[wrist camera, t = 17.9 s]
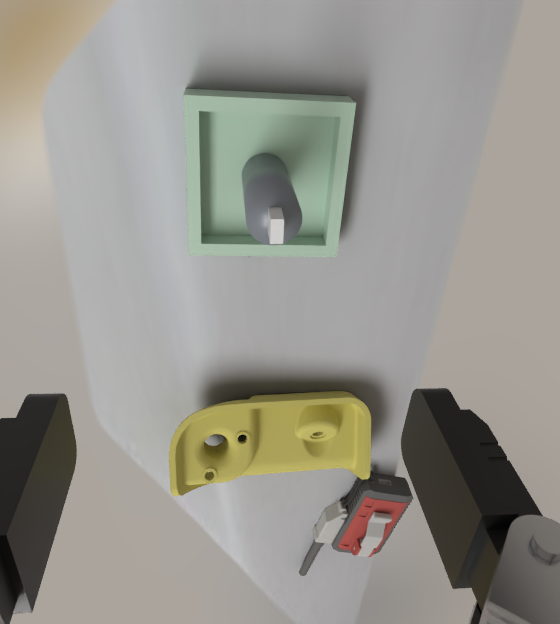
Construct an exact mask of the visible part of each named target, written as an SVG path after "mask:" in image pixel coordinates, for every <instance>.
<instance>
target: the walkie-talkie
mask: <svg viewBox="0 0 560 624" xmlns="http://www.w3.org/2000/svg"><path fill="white" fill-rule="evenodd" d="M348 495H349V496H347V498H346V499H345V500H344V501H338V502H336V503H335V504H333V505H331V506H329V507H327V508H326V509H325V510H324V512H323V513H322V515H321V517H320V519H319V521H318V523H317V525H315V526H314V528H313V533H314V543H313V545H312V547H311V549H310V551H309V552H308V554H307V556H306V558H305V561H304V563H303V565H302V567H301V569H300V571H299V574H300V575H301V576H305V575H306V573H307V572H308V570H309V568H310V566H311V564H312V562H313V561H314V559H315V557H316V555H317V553H318V552H319V550H320V548H321V547H322V546H323V545H324V543H328V544H332V547H333V549H335V550H337V551H339V552H347V553H352V554H353V555H357V556H367V557H371V556H372V555H373V554H376V553H378V552H379V551H380V550H381V548H382V547H383V545H384V544H385V542H386V540H387V539H388V538H389V536H390V534H391V533H392V531H393V529H394V528H395V526H396V525H397V523H398V521H399V520H400V518H401V517H402V515H403V514H404V512H405V511H406V509H407V508H408V505H410V502H411V501H412V499H413V496H412V494H411V491H410V488H409V485H408V483H407V481H406V479H405V478H402V477H396V476H395V477H393V476H386V475H379V474H374V473H373V472H372V471H370V477H369V479H363V480H362V479H360V478H359V477H358V478H357V481H355V484H354V485H353V487H352V490H351V491H350V493H349V494H348Z"/></svg>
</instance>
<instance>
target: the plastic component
mask: <svg viewBox="0 0 560 624" xmlns="http://www.w3.org/2000/svg"><path fill="white" fill-rule="evenodd" d="M214 434H221V435H223V436H225V439H224V441H223V442H222V443H221V444H219V445H217V446H210V445H208V444H206V443H205V440H206V439H207V438H208V437H209V436H211V435H214ZM240 435H246V439H245V441H242V442H241V441H239V440H238V437H239V436H240ZM370 464H371V415H370V411H369V409H368V407H367V406H366V405H365V404H364V403H363V402H362V401H361V400H359V399H358V398H357V397H356V396H354V395H353V394H351V393H349V392H346V391H329V392H310V393H292V394H273V395H255V396H252V397H251V398H250V399H247V400H234V401H228V402H223V403H219V404H216V405H212V406H209V407H207V408H204V409H201V410H199V411H197V412H195V413H193V414H192V415H190V416H189V417H187V418H186V419H185V420H184V421H183V422H182V423H181V424H180V426H179V427H178V428H177V430H176V432H175V434H174V436H173V438H172V441H171V445H170V451H169V468H170V490H171V493H172V495H173V496H179V495H184V494H185V493H187V492H189V491H191V490H194V489H196V488H198V487H201V486H204V485H207V484H210V483H220V482H227V481H231V480H233V479H236V478H237V477H239V476H246V475H258V474H270V473H282V472H294V471H306V470H318V469H330V468H345V469H348V470H350V471H351V472H352V473H354V474H355V475H356V476H358V477H359V478H360V479H362V480H363V479H369V477H370ZM208 471H211V472H208Z"/></svg>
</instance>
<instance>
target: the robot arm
mask: <svg viewBox="0 0 560 624" xmlns="http://www.w3.org/2000/svg"><path fill="white" fill-rule="evenodd" d="M401 449H402V456H403V460H404V463H405V466H406V468H407V471H408V473H409V476H410V479H411V481H412V483H413V486H414V489H415V492H416V494H417V497H418V499H419V502H420V505H421V507H422V510H423V512H424V515H425V518H426V520H427V523H428V525H429V528H430V531H431V533H432V535H433V538H434V541H435V544H436V546H437V549H438V551H439V554H440V556H441V559H442V562H443V564H444V567H445V569H446V572H447V575H448V577H449V580H450V582H451V585H452V588H453V589H457V588H472V590H473V593H474V595H475V597H476V600H477V601H476V603H475V605H474V608H473V611H472V614H471V617H470V620H469V624H560V524H559V523H558V522H556V521H554V520H552V519H549V518H546V517H543V515H542V514H541V512H540V511H539V509H538V507H537V506H536V504H535V502H534V501H533V499H532V497H531V496H530V494H529V493H528V491H527V489H526V488H525V486H524V484H523V483H522V481H521V479H520V478H519V476H518V475H517V473H516V471H515V469H514V468H513V466H512V464H511V463H510V461H507V456H506V454H505V453H504V451H503V449H502V448H501V446H498V441H497V440H496V438H495V436H494V435H493V433H492V431H491V430H490V428H489V426H488V425H487V424H486V423H485V422H484V421H483V420H481V419H480V418H479V417H478V416H477V415H476V414H474V413H473V412H472V411H471V410H460V408H459V406H458V405H457V403H456V401H455V399H454V397H453V395H452V394H451V392H450V391H449V390H448V389H446V388H441V389H440V388H438V389H415V390H414V391H413V393H412V396H411V400H410V404H409V408H408V412H407V416H406V420H405V424H404V428H403V432H402V438H401ZM76 451H77V450H76V440H75V435H74V430H73V425H72V420H71V415H70V409H69V404H68V400H67V397H66V395H65V394H29V395H27V396H26V398H25V400H24V402H23V404H22V406H21V408H20V410H19V412H18V415H17V417H16V418H1V419H0V624H10V621H11V618H12V615H13V614H17V613H32V611H33V608H34V605H35V601H36V598H37V595H38V591H39V588H40V584H41V581H42V578H43V574H44V571H45V568H46V564H47V561H48V557H49V554H50V551H51V547H52V544H53V540H54V537H55V534H56V531H57V527H58V524H59V520H60V517H61V514H62V510H63V507H64V503H65V500H66V496H67V494H68V490H69V487H70V483H71V480H72V476H73V473H74V470H75V464H76Z"/></svg>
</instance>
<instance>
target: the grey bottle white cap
mask: <svg viewBox="0 0 560 624" xmlns="http://www.w3.org/2000/svg"><path fill="white" fill-rule="evenodd" d="M242 186H243V196H244V206H245V216H246V224H247V228H248V230H249V232H250V234H251V235H252V236H253V237H254V238H255V239H256V240H257V241H259V242H261V243H263V244H266V245H281V244H284V243H286V242H288V241H290V240H291V239H292V238H294V237H295V236H296V234H297V233H298V232H299V230H300V228H301V225H302V211H301V208H300V205H299V202H298V199H297V197H296V194H295V191H294V188H293V185H292V182H291V180H290V177H289V174H288V171H287V168H286V166H285V164H284V162H283V161H282V160H281V159H280V158H279V157H277V156H275V155H273V154H269V153H261V154H257V155H255V156H253V157H251V158H250V159H249V160H248V161H247V162H246V164H245V165H244V167H243V170H242Z"/></svg>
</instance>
